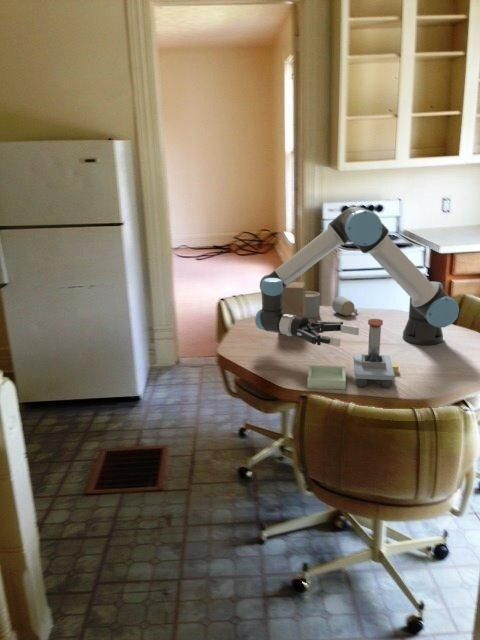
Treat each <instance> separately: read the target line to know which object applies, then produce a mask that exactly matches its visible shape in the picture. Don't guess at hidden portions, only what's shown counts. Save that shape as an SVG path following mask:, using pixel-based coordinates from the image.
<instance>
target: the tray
mask: <svg viewBox="0 0 480 640" xmlns="http://www.w3.org/2000/svg"><path fill="white" fill-rule="evenodd" d="M307 371H308V373H307V388H308V389H324V390H325V389H327V390H345V391H346V385H347V383H346V381H347V378H346V377H347V376H346V366H339V365H336V366H335V365H315V364H313V365H311V364H309V365H308V370H307Z"/></svg>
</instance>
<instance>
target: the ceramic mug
mask: <svg viewBox="0 0 480 640" xmlns="http://www.w3.org/2000/svg"><path fill="white" fill-rule="evenodd" d="M331 306H332V310H333V311H334V312H336V313H337V314H339V315H342V316H345V317H348V316H351V315H352V314H354V313H355V314H357V313H358V309H356V308H355V304H354V302H353V301H352V300H349V299H348V298H346V297H344V296H336V297H335V298H334V299H333V301H332V305H331Z"/></svg>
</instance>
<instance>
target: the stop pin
mask: <svg viewBox="0 0 480 640" xmlns="http://www.w3.org/2000/svg"><path fill="white" fill-rule="evenodd" d="M383 323H384V321H383V320H382V319H380V318H370V319H368V320H367V324H368V325H369V330H368V348H367V349H368V350H367V352H368V353H367V355H368V362H379V355H380V352H381V351H380V350H381V334H382V333H381V332H382V326H383V325H384V324H383Z"/></svg>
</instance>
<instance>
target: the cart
mask: <svg viewBox="0 0 480 640" xmlns="http://www.w3.org/2000/svg"><path fill="white" fill-rule="evenodd" d="M353 366H354V367H353V369H354V376H355V384H356V386H357V387H358V388H364V387H366V386H367V383H368V380H381V381H380V382H381V387H382V388H384V389H391V388H392V387H393V385H394V382H393V381H395V377H396V375H398V374H399V364H398V362H393V361H392V360H391V356H390V355H389V354H379V362H368V353H367V354H366V353H365V354H364V353H363V354H362V353H361V354H360V353H354V354H353ZM395 374H396V375H395Z"/></svg>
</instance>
